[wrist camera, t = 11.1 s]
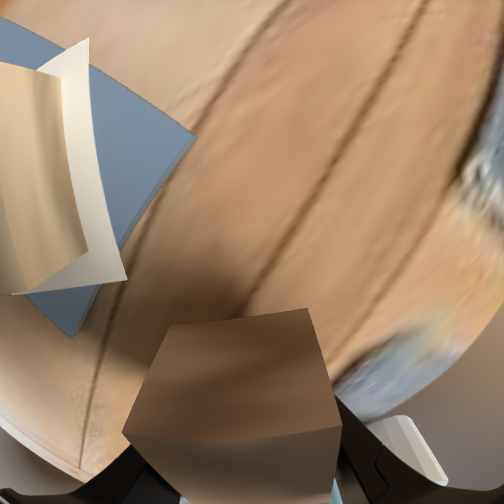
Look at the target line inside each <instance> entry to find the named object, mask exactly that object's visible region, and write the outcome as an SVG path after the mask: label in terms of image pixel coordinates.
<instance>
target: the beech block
mask: <svg viewBox="0 0 504 504" xmlns="http://www.w3.org/2000/svg"><path fill="white" fill-rule="evenodd" d="M88 251H89V250H88V247H87V244H86V240H85V237H84V233H83V229H82V226H81V222H80V218H79V214H78V209H77V205H76V201H75V196H74V191H73V186H72V181H71V176H70V170H69V164H68V157H67V150H66V142H65V134H64V124H63V111H62V89H61V78H59V77H56V76H53V75H50V74H46V73H43V72H39V71H36V70H32V69H29V68H25V67H21V66H17V65H13V64H9V63H4V62H0V295H5V294H12V293H19V292H26V291H30V290H31V289H33V288H34V287H36V286H37V285H38V284H40V283H41V282H43V281H44V280H46V279H47V278H48V277H50V276H51V275H53V274H54V273H56V272H57V271H59V270H60V269H62V268H63V267H65V266H66V265H68V264H69V263H71V262H72V261H74V260H76V259H77V258H79V257H80V256H82V255H83V254H85V253H87V252H88Z"/></svg>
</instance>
